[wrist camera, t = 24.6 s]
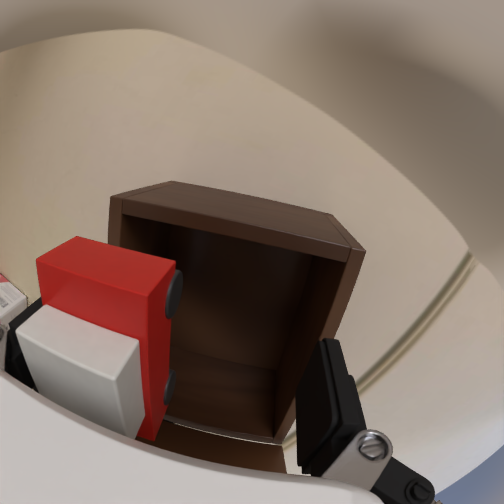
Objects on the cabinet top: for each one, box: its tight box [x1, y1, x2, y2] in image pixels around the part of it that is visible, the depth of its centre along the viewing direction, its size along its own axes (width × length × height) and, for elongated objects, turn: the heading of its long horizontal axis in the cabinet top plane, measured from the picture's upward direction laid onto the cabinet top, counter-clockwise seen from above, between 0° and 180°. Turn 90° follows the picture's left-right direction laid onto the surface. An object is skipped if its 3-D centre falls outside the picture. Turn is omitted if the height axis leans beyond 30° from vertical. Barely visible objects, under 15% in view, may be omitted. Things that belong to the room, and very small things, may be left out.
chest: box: [108, 181, 366, 444], centre depth 19 cm, size 16×13×9 cm
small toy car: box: [16, 236, 183, 441], centre depth 8 cm, size 7×4×5 cm, turn 168°
